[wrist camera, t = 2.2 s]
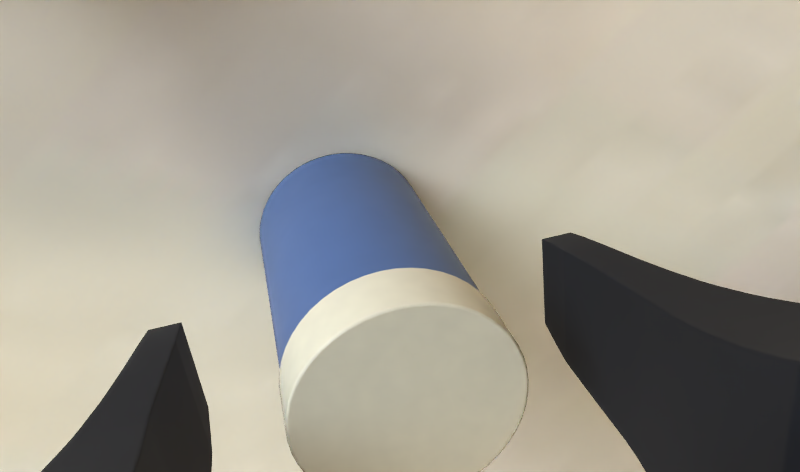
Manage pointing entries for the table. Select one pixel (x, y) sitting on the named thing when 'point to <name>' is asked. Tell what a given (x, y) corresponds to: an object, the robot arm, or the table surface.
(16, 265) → the table surface
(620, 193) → the table surface
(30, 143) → the table surface
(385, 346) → the glue stick
